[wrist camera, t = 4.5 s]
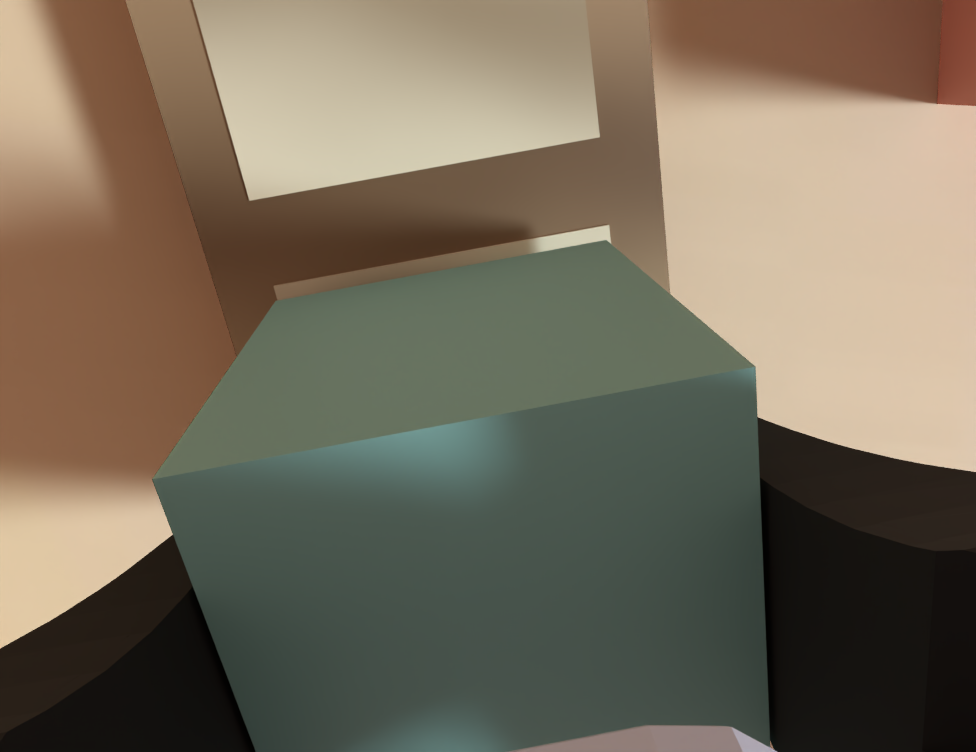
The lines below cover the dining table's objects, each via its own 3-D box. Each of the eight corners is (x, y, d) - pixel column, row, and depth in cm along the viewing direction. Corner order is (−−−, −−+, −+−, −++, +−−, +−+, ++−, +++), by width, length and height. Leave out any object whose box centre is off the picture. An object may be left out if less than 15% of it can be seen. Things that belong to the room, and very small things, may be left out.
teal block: (637, 522, 14) (772, 799, 9) (353, 576, 14) (307, 890, 9) (606, 240, 12) (755, 366, 7) (276, 300, 12) (151, 480, 7)
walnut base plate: (662, 502, 18) (690, 552, 16) (330, 565, 18) (319, 623, 16) (583, -356, 12) (614, -438, 10) (83, -269, 12) (19, -335, 10)
